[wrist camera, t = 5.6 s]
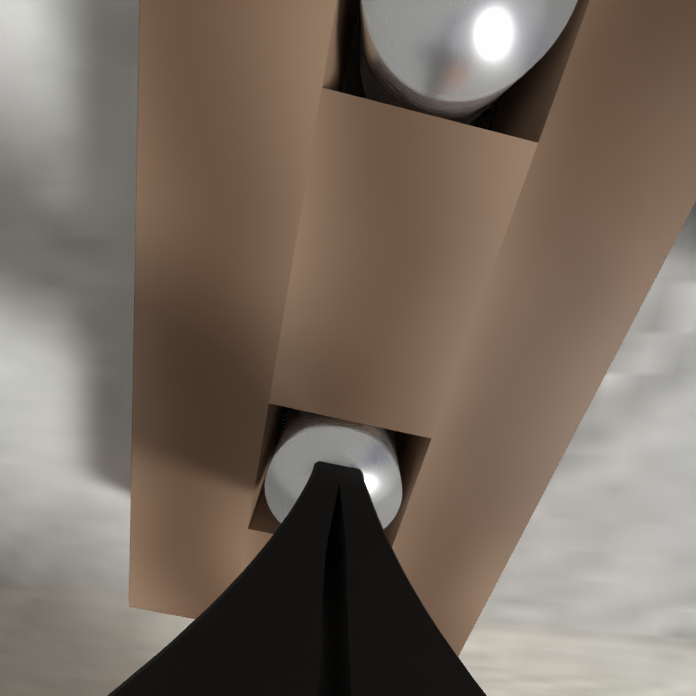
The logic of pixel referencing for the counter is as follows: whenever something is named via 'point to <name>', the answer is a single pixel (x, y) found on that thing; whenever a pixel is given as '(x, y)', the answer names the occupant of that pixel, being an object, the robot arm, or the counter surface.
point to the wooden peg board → (385, 277)
